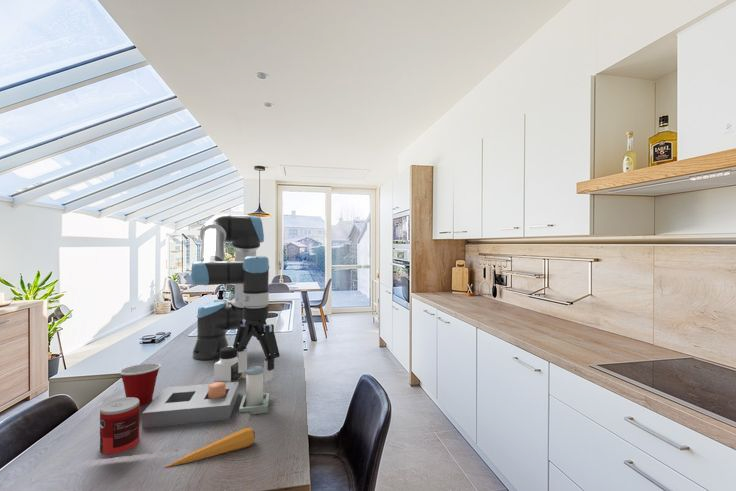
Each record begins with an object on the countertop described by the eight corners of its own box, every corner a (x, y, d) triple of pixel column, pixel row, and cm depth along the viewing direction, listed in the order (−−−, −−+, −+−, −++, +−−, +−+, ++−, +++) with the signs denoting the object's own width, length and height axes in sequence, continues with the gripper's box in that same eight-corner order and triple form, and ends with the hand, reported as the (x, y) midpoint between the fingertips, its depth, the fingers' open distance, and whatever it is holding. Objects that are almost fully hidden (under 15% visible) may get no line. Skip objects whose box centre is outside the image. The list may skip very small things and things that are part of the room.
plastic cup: (163, 394, 110) (163, 358, 110) (157, 409, 100) (158, 370, 100) (123, 400, 105) (123, 363, 105) (113, 417, 95) (114, 376, 95)
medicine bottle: (231, 384, 118) (231, 351, 118) (213, 382, 119) (213, 350, 119) (242, 376, 125) (242, 345, 125) (225, 375, 126) (226, 344, 126)
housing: (165, 403, 104) (165, 387, 104) (238, 396, 109) (238, 381, 109) (142, 431, 88) (142, 412, 88) (229, 422, 93) (229, 405, 93)
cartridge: (242, 405, 101) (242, 369, 101) (256, 398, 106) (256, 364, 106) (253, 410, 99) (253, 373, 98) (267, 402, 103) (267, 368, 103)
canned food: (113, 439, 84) (113, 397, 84) (146, 438, 85) (146, 396, 85) (91, 459, 77) (91, 412, 77) (127, 457, 78) (127, 411, 77)
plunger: (210, 401, 102) (210, 382, 102) (227, 400, 103) (227, 381, 103) (206, 409, 97) (206, 389, 97) (223, 407, 98) (223, 387, 98)
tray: (243, 401, 106) (243, 395, 106) (269, 398, 107) (269, 392, 107) (238, 415, 97) (238, 408, 97) (267, 412, 99) (267, 406, 99)
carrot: (254, 443, 85) (251, 424, 86) (257, 445, 82) (254, 425, 83) (164, 477, 75) (162, 455, 77) (162, 481, 72) (160, 458, 73)
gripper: (221, 303, 105) (221, 371, 105) (272, 312, 92) (272, 389, 93) (241, 300, 112) (241, 364, 112) (292, 308, 99) (291, 380, 99)
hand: (255, 375), depth 102 cm, fingers open, 11 cm apart
